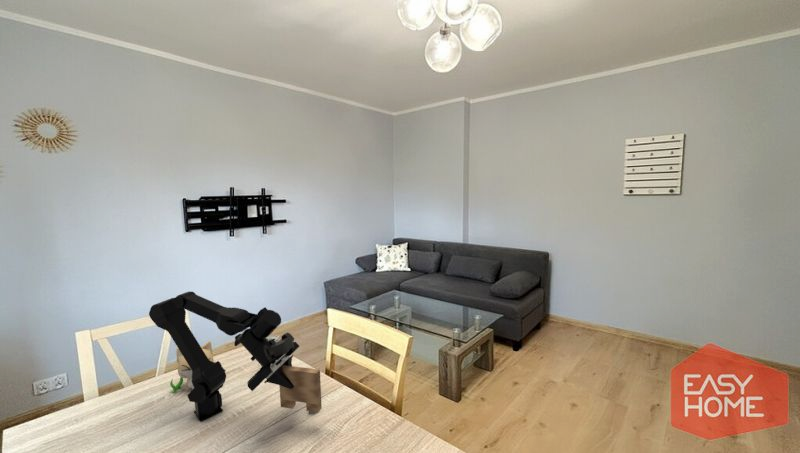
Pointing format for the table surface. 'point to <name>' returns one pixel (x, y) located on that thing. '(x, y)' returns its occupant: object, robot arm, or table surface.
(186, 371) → the kitten
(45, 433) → the table surface
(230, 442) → the table surface
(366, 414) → the table surface
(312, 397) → the walnut plate
